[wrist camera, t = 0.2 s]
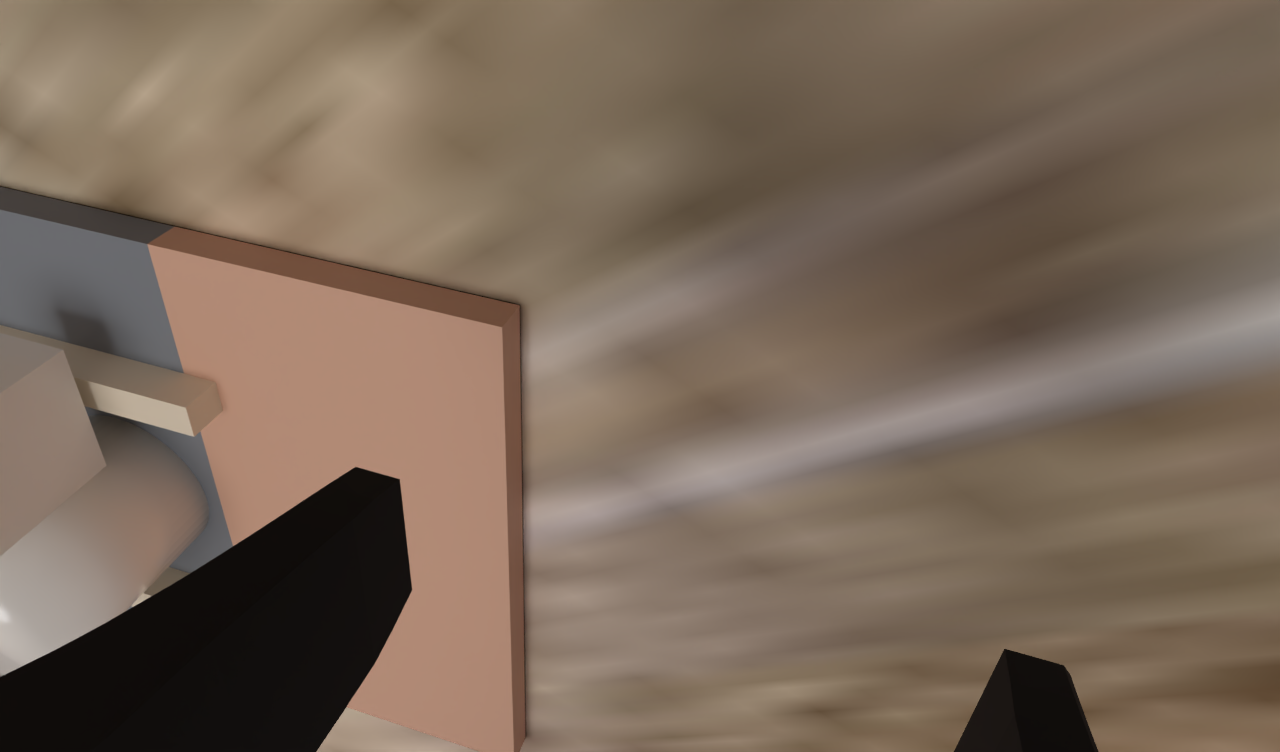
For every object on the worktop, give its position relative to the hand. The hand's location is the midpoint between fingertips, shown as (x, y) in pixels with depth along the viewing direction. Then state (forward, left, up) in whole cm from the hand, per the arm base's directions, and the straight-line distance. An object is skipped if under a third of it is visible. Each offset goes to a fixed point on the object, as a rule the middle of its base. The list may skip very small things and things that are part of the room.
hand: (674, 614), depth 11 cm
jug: (-11, +19, -9) cm, 23 cm away
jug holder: (-12, +16, -10) cm, 22 cm away
